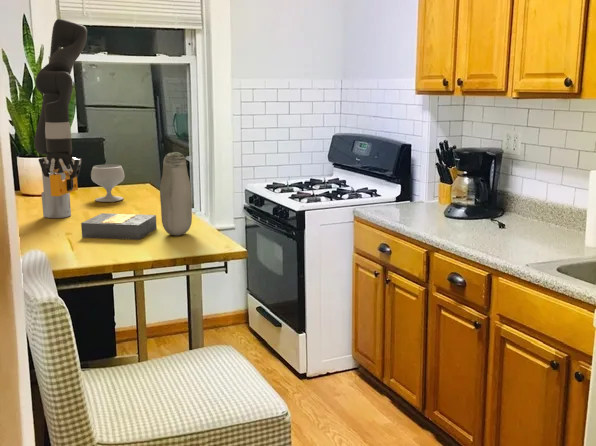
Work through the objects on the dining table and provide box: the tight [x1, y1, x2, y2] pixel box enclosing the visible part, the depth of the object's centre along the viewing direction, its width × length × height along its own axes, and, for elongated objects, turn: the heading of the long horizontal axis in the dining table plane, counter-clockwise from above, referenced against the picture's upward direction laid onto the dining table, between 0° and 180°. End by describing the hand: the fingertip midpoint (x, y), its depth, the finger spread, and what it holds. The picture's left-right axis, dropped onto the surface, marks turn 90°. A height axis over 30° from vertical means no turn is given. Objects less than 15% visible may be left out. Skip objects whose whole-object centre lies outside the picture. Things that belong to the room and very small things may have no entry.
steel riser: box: [80, 212, 158, 241], centre depth 220 cm, size 20×16×5 cm
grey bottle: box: [159, 151, 193, 236], centre depth 216 cm, size 10×10×28 cm
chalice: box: [90, 163, 126, 203], centre depth 279 cm, size 14×14×15 cm
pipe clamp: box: [50, 169, 79, 196], centre depth 205 cm, size 12×4×6 cm, turn 171°
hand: (62, 190), depth 205 cm, fingers closed on pipe clamp, 4 cm apart
